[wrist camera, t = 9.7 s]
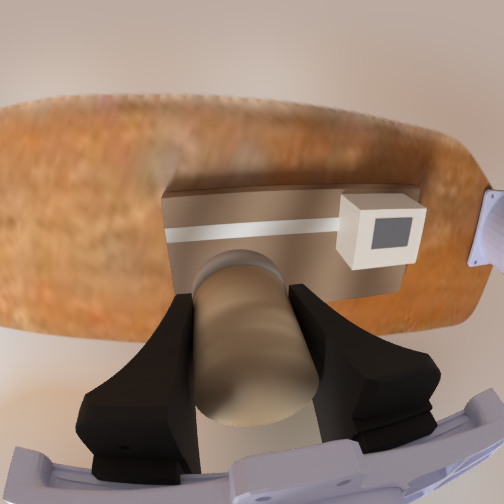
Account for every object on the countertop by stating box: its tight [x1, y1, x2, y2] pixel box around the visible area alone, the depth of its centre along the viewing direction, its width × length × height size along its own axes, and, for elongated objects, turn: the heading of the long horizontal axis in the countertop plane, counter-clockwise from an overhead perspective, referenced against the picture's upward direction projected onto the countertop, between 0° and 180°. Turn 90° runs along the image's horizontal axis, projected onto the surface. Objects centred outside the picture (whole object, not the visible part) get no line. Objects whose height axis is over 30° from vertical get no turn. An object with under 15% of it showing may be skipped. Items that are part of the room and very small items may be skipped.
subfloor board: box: [161, 184, 421, 302], centre depth 22 cm, size 18×9×1 cm, turn 91°
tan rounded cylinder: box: [193, 249, 319, 426], centre depth 12 cm, size 4×4×6 cm
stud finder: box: [336, 193, 427, 270], centre depth 20 cm, size 5×4×3 cm
